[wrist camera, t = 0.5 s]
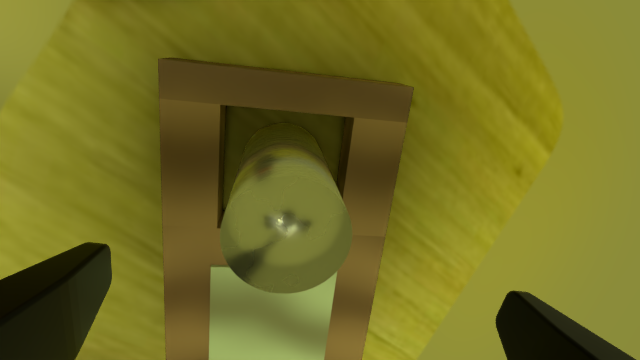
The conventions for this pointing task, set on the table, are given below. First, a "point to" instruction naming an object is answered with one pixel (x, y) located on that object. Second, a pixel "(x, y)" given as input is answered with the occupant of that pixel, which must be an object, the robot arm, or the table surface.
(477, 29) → the table surface
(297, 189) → the clear glass jar
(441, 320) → the table surface
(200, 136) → the pocket block
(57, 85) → the table surface
